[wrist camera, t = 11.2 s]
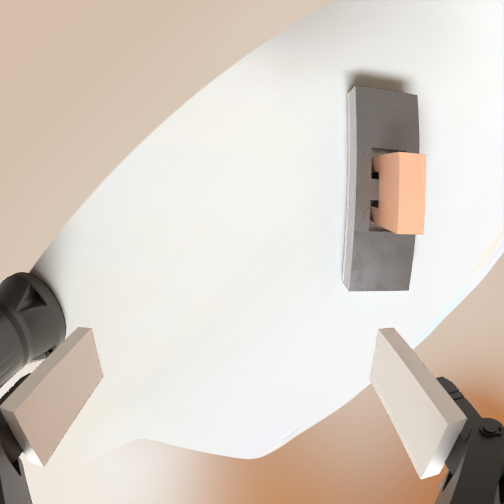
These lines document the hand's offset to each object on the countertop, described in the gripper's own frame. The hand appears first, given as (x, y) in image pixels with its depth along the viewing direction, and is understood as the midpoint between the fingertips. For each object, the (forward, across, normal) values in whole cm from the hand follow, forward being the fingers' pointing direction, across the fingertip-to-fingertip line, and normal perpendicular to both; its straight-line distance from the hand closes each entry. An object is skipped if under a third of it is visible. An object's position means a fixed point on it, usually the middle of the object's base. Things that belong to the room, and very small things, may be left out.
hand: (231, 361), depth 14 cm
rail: (+27, +17, +7) cm, 32 cm away
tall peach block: (+26, +17, +7) cm, 31 cm away
